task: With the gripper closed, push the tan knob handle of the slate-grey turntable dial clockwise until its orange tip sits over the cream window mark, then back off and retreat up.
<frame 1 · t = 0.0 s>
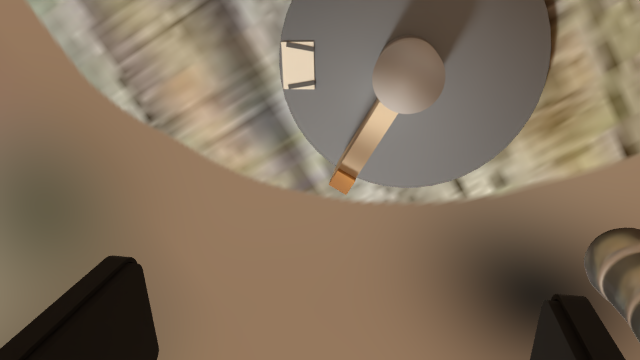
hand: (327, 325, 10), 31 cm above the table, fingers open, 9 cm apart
tan knob handle: (381, 113, 34), point 5 cm above the table, hinge at 60.0°
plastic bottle: (613, 250, 41), on the table
dial base: (407, 63, 37), on the table
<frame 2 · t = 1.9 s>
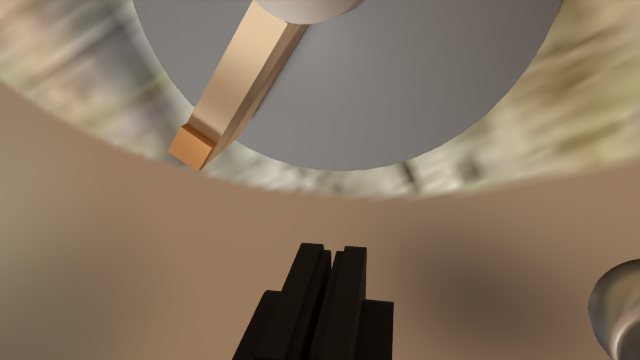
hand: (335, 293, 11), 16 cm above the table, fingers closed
tan knob handle: (272, 34, 20), point 5 cm above the table, hinge at 60.0°
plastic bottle: (632, 288, 27), on the table
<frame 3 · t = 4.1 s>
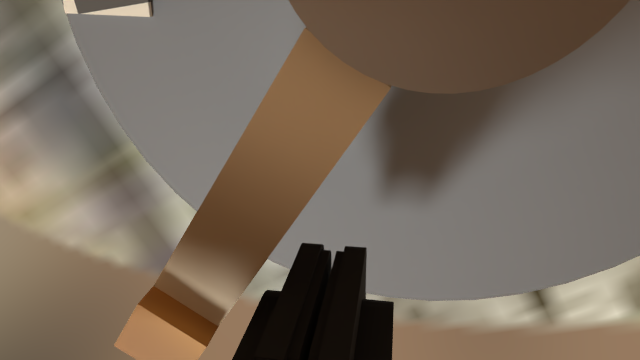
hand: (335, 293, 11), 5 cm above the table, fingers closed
tan knob handle: (329, 93, 9), point 5 cm above the table, hinge at 59.1°, touching gripper
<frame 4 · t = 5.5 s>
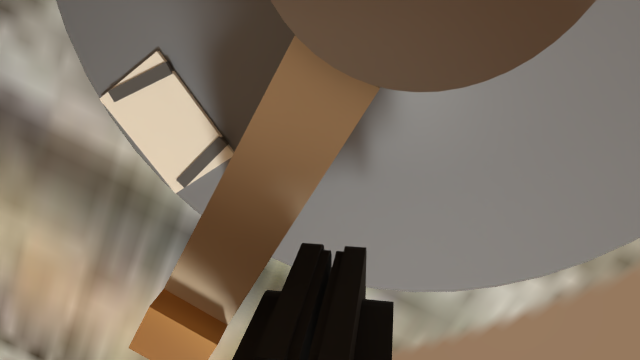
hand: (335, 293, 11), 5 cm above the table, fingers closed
tan knob handle: (323, 95, 10), point 5 cm above the table, hinge at 25.9°, touching gripper
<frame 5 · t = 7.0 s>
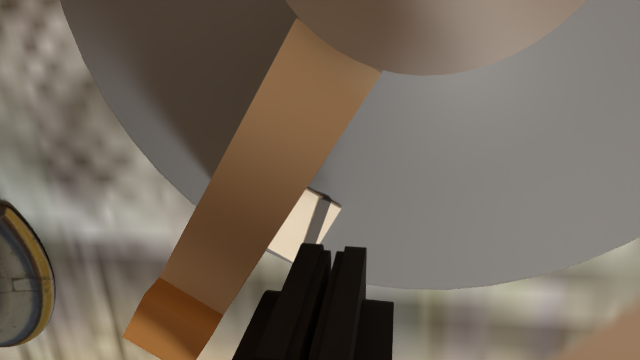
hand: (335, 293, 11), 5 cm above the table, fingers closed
tan knob handle: (324, 84, 10), point 5 cm above the table, hinge at -3.3°
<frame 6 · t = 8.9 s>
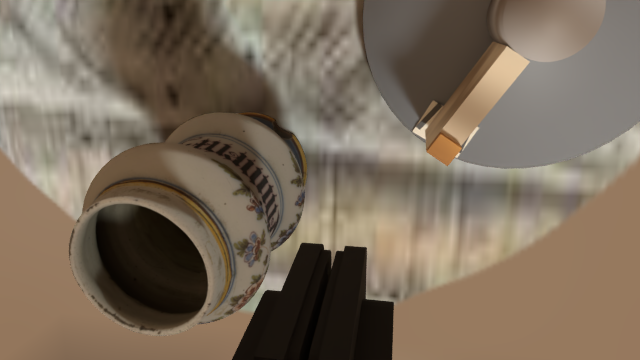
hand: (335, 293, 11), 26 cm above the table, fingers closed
apothecary jar: (255, 165, 39), on the table
tan knob handle: (496, 67, 28), point 5 cm above the table, hinge at -3.3°
dial base: (520, 14, 31), on the table
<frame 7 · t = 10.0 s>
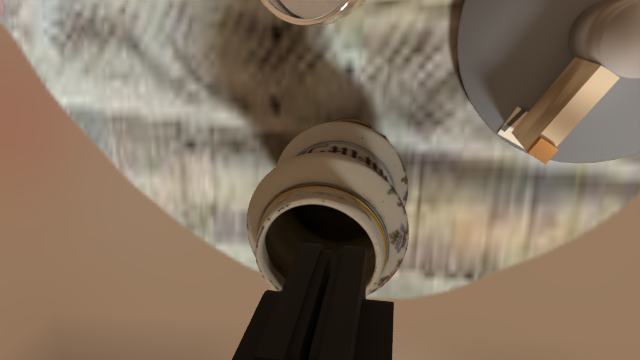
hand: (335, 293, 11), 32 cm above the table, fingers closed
apothecary jar: (347, 164, 44), on the table
tan knob handle: (583, 80, 33), point 5 cm above the table, hinge at -3.3°
dial base: (594, 32, 36), on the table
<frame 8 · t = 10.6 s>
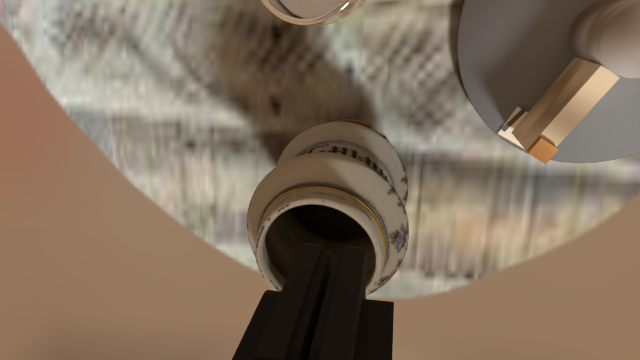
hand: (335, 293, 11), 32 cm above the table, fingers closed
apothecary jar: (347, 164, 44), on the table
tan knob handle: (583, 80, 33), point 5 cm above the table, hinge at -3.3°
dial base: (594, 32, 36), on the table
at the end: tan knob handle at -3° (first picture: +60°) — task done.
